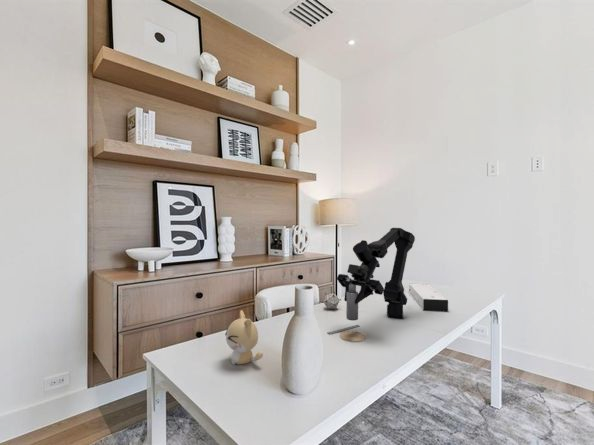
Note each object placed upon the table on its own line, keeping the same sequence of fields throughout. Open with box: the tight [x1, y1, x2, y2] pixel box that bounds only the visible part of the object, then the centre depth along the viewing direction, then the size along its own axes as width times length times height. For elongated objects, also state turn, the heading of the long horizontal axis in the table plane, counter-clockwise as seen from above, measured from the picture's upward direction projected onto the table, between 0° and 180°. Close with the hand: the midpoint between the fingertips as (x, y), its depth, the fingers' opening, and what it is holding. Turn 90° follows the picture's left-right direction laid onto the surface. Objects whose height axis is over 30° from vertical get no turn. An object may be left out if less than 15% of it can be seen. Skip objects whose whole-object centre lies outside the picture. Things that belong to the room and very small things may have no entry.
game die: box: [321, 291, 342, 311], centre depth 155 cm, size 9×8×10 cm
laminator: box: [408, 283, 449, 312], centre depth 168 cm, size 34×12×6 cm, turn 172°
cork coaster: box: [339, 330, 367, 343], centre depth 121 cm, size 10×10×1 cm
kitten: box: [225, 309, 264, 366], centre depth 100 cm, size 15×10×15 cm
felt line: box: [327, 324, 361, 336], centre depth 127 cm, size 16×2×1 cm, turn 123°
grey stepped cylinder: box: [345, 284, 359, 321], centre depth 120 cm, size 4×4×13 cm
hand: (350, 302), depth 119 cm, fingers closed on grey stepped cylinder, 4 cm apart
